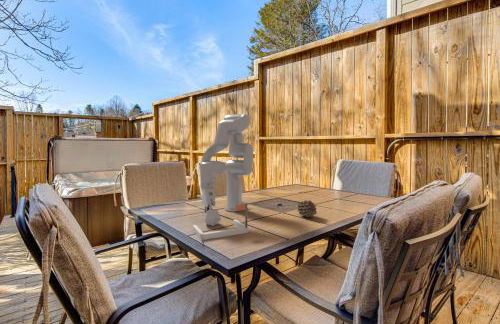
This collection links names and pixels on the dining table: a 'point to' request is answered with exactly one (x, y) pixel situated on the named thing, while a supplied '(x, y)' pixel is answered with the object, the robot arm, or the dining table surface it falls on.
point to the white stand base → (229, 232)
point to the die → (212, 217)
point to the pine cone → (306, 208)
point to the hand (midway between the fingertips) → (208, 218)
